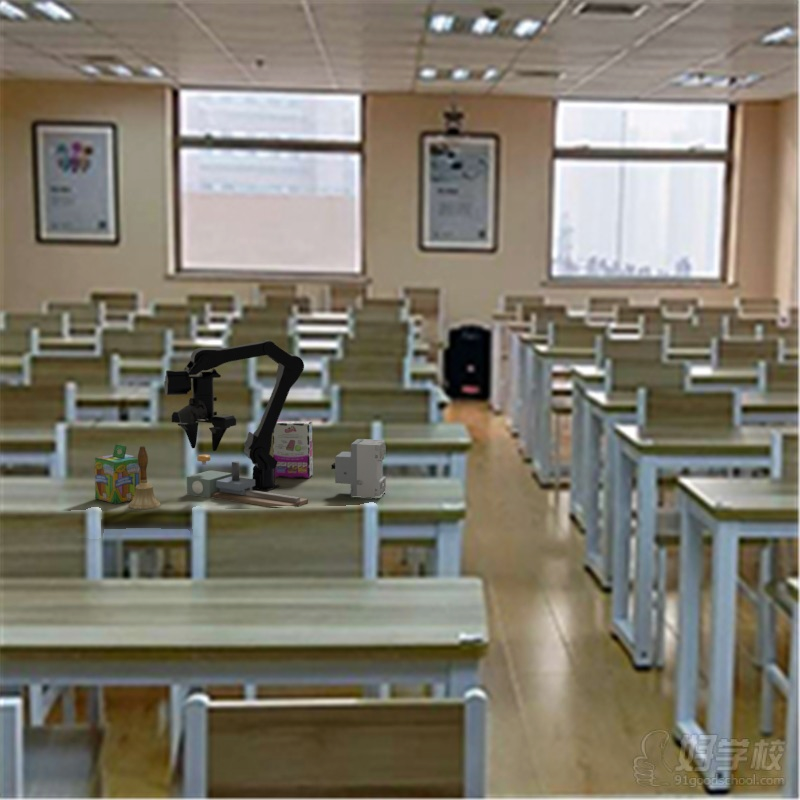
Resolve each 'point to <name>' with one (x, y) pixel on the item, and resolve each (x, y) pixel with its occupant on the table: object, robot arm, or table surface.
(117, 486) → the chalk box
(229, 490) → the grey peg on base
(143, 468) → the hand bell
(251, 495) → the rail track
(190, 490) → the grey green box
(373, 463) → the circuit breaker
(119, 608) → the table surface
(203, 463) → the tan round piece
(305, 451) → the candy bar box
